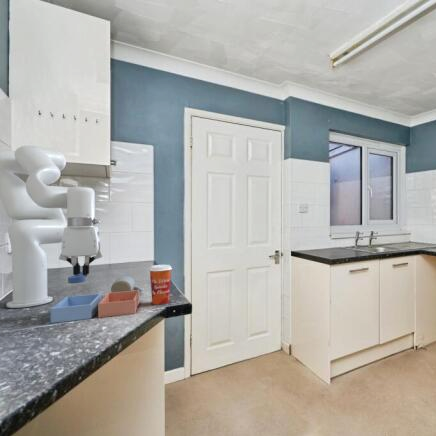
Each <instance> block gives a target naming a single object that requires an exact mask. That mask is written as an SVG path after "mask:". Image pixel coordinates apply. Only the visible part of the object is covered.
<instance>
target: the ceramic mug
mask: <svg viewBox="0 0 436 436" xmlns="http://www.w3.org/2000/svg"><path fill="white" fill-rule="evenodd" d="M134 290H140V296H141V295H142V294H143V290H142V289H141V288H140V287H138V286H136V281H135V280H134V278H133V277H131V276H128V275H121V276H119V277H117V278H116V280H114V282H113V283H112V285H111V287H110V293H112V292H123V291H134Z"/></svg>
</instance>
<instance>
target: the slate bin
mask: <svg viewBox="0 0 436 436" xmlns="http://www.w3.org/2000/svg"><path fill="white" fill-rule="evenodd" d="M102 299H103V294H102V293H101V292H100V293H92V294H80V295H78V294H77V295H69V296H65V297H64V298H63V299H61V300H60V301H58V302H57V303H56V304H55V305H54V306H52V307H51V308H50V324H55V323H64V322H65V323H66V322H73V321H74V322H75V321H81V320H88V319H89V320H90V319H92V318H94V317H95V315H96V314H97V313H98V304H99V303H100V301H101V300H102Z"/></svg>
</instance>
